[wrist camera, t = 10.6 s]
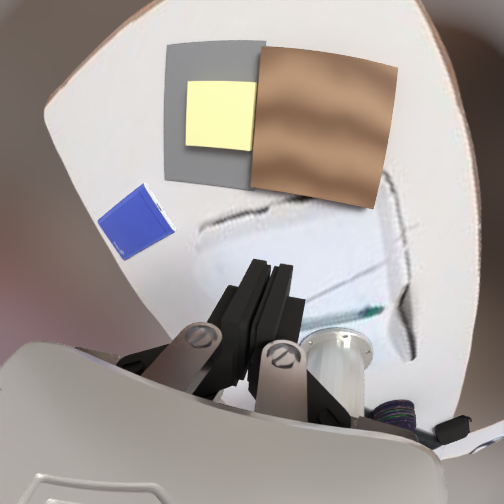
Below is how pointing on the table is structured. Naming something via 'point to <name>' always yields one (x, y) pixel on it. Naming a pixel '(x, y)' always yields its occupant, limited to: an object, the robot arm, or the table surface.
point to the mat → (175, 106)
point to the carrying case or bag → (453, 430)
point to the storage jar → (396, 414)
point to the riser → (322, 124)
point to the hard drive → (136, 222)
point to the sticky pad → (221, 114)
